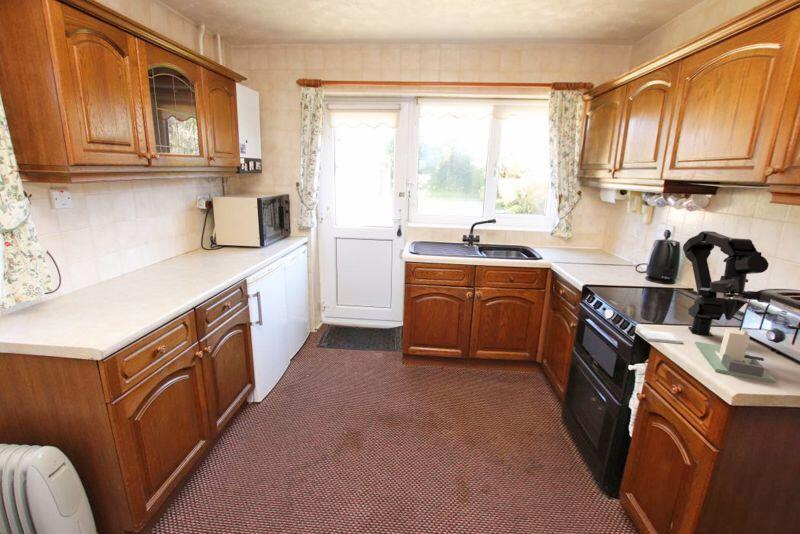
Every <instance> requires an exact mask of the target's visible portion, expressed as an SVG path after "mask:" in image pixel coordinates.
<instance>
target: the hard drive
mask: <svg viewBox="0 0 800 534" xmlns="http://www.w3.org/2000/svg"><path fill="white" fill-rule="evenodd" d="M635 332H636V333H637V334H638V335H639V336H640V337H641V338H642V339H643V340H644V341H646V342H647V341H648V342H656V343H657V342H658V343H669V344H679V343H683V344H684V340H682V339H681V338H679V336H677V335H676V334H675V333H673V332H666V331H656V330H645V329H643V330H642V329H636V331H635Z"/></svg>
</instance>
